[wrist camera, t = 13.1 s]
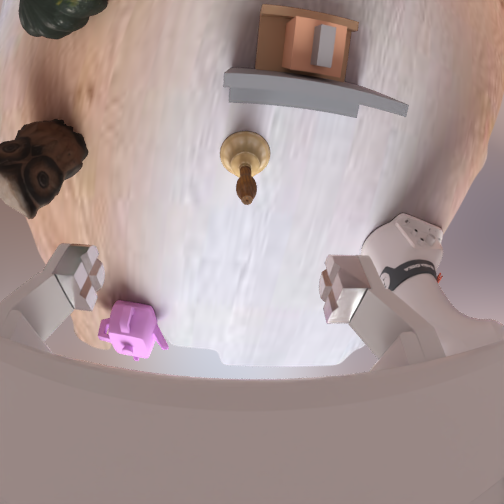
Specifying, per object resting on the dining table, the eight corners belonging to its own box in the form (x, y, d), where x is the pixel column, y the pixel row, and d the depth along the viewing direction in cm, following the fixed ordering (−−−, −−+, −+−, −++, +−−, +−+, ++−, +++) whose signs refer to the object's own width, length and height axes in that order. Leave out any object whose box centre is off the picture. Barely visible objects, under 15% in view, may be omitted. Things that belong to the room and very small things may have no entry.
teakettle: (130, 289, 65) (117, 328, 56) (176, 322, 75) (170, 360, 65) (100, 309, 72) (88, 344, 62) (142, 337, 81) (135, 371, 71)
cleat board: (366, 30, 29) (421, 28, 17) (352, 115, 39) (397, 147, 27) (236, 9, 28) (231, -17, 15) (229, 100, 38) (221, 124, 26)
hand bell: (230, 124, 40) (223, 159, 28) (277, 141, 43) (292, 184, 30) (213, 167, 45) (201, 219, 33) (258, 182, 48) (264, 238, 35)
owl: (38, 115, 35) (-34, 161, 19) (89, 108, 36) (15, 152, 21) (47, 172, 43) (-11, 232, 28) (95, 171, 44) (38, 237, 29)
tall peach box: (328, 30, 28) (356, 24, 19) (322, 73, 32) (348, 80, 24) (286, 23, 27) (301, 12, 19) (281, 66, 32) (294, 70, 23)
